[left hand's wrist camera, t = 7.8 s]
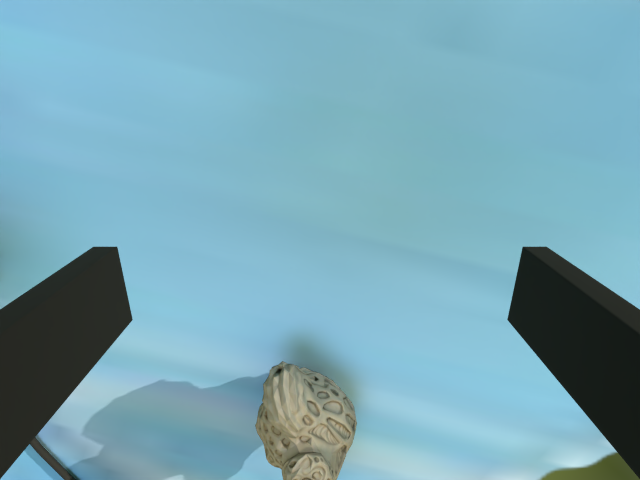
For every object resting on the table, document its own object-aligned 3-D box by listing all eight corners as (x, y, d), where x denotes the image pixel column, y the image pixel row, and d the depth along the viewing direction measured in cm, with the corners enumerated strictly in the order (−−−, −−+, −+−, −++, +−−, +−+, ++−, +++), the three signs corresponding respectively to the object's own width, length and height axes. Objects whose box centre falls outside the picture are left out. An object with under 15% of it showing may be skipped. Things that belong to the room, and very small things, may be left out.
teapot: (243, 335, 46) (209, 441, 32) (335, 317, 45) (342, 418, 31) (287, 458, 54) (275, 587, 40) (367, 445, 53) (384, 572, 39)
